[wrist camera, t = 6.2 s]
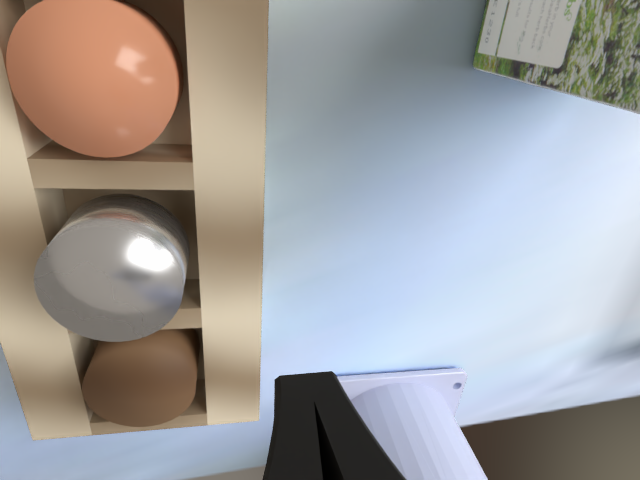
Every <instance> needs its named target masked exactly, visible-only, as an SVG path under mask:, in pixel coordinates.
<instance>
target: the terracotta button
mask: <svg viewBox="0 0 640 480" xmlns="http://www.w3.org/2000/svg"><path fill="white" fill-rule="evenodd" d="M6 68H7V74H8V79H9V82H10V85H11V89H12V91H13V93H14V96H15V98H16V100H17V102H18V103H19V105H20V107H21V108H22V110H23V111H24V113H25V114H26V115H27V117H28V118H29V119H30V120H31V121H32V122H33V124H34V125H35V126H36V127H37V128H38V129H39V130H41V131H42V132H43V133H44V134H45V135H46V136H48V137H49V138H51V139H52V140H54V141H55V142H57V143H58V144H60V145H62V146H64V147H66V148H68V149H70V150H73V151H75V152H78V153H81V154H84V155H89V156H94V157H104V158H109V157H120V156H126V155H129V154H133V153H135V152H137V151H140V150H142V149H144V148H145V147H147V146H148V145H150V144H151V143H152V142H153V141H155V140H156V139H157V138H158V137H159V135H160V134H161V133H162V132H163V130H164V129H165V127H166V126H167V124H168V122H169V120H170V119H171V117H172V115H173V113H174V112H175V110H176V108H177V106H178V104H179V102H180V99H181V96H182V92H183V85H184V73H183V66H182V62H181V58H180V55H179V52H178V50H177V48H176V46H175V44H174V42H173V40H172V38H171V37H170V35H169V34H168V32H167V31H166V30H165V29H164V28H163V26H162V25H161V24H160V23H159V22H158V21H157V20H156V19H155V18H154V17H152V16H151V15H150V14H148V13H147V12H146V11H144V10H143V9H141V8H139V7H137V6H136V5H133V4H131V3H129V2H127V1H123V0H44V1H41V2H39V3H37V4H36V5H34V6H33V7H31V8H30V9H29V10H27V11H26V12H25V13H24V14H23V15H22V16H21V18H20V19H19V20H18V22H17V23H16V25H15V26H14V28H13V30H12V33H11V35H10V38H9V41H8V45H7V53H6Z"/></svg>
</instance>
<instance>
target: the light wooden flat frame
mask: <svg viewBox="0 0 640 480" xmlns="http://www.w3.org/2000/svg"><path fill="white" fill-rule="evenodd" d="M41 1H44V0H0V343H1V346H2V349H3V352H4V355H5V358H6V361H7V364H8V367H9V370H10V373H11V376H12V379H13V382H14V385H15V388H16V391H17V394H18V397H19V400H20V403H21V406H22V409H23V412H24V415H25V418H26V421H27V424H28V427H29V430H30V433H31V436H32V439H33V440H43V439H55V438H66V437H78V436H89V435H101V434H112V433H123V432H135V431H146V430H158V429H169V428H181V427H192V426H204V425H215V424H226V423H238V422H249V421H259V401H260V357H261V314H262V270H263V226H264V183H265V139H266V95H267V52H268V8H269V0H123V1H127V2H129V3H131V4H133V5H136V6H137V7H139V8H141V9H143V10H144V11H146V12H147V13H148V14H150V15H151V16H152V17H154V18H155V19H156V20H157V21H158V22H159V23H160V24H161V25H162V26H163V28H164V29H165V30H166V31H167V32H168V34H169V35H170V37H171V38H172V40H173V42H174V44H175V46H176V48H177V50H178V52H179V55H180V58H181V62H182V66H183V73H184V85H183V92H182V96H181V99H180V102H179V104H178V106H177V108H176V110H175V112H174V113H173V115H172V117H171V119H170V120H169V122H168V124H167V126H166V127H165V129H164V130H163V132H162V133H161V134H160V135H159V137H158V138H157V139H156V140H155V141H153V142H152V143H151V144H150V145H148V146H147V147H145V148H144V149H142V150H140V151H137V152H135V153H133V154H129V155H126V156H120V157H109V158H104V157H94V156H89V155H84V154H81V153H78V152H75V151H73V150H70V149H68V148H66V147H64V146H62V145H60V144H58V143H57V142H55V141H54V140H52V139H51V138H49V137H48V136H46V135H45V134H44V133H43V132H42V131H41V130H39V129H38V128H37V127H36V126H35V125H34V124H33V122H32V121H31V120H30V119H29V118H28V117H27V115H26V114H25V113H24V111H23V110H22V108H21V107H20V105H19V103H18V102H17V100H16V98H15V96H14V93H13V91H12V89H11V85H10V82H9V79H8V74H7V68H6V53H7V45H8V41H9V38H10V35H11V33H12V30H13V28H14V26H15V25H16V23H17V22H18V20H19V19H20V18H21V16H22V15H23V14H24V13H25V12H26V11H27V10H29V9H30V8H31V7H33V6H34V5H36V4H37V3H39V2H41ZM109 194H132V195H138V196H141V197H145V198H148V199H150V200H152V201H155V202H157V203H158V204H160V205H162V206H163V207H165V208H166V209H168V210H169V211H170V212H171V213H172V214H173V215H174V216H175V217H176V218H177V219H178V220H179V221H180V223H181V224H182V226H183V227H184V229H185V231H186V234H187V236H188V240H189V245H190V256H189V262H188V268H187V273H186V279H185V284H184V290H183V295H182V301H181V304H180V307H179V309H178V311H177V312H176V314H175V315H174V317H173V318H172V319H171V320H170V321H169V322H168V323H167V324H166V325H165V326H164V327H163V328H161V329H160V330H163V329H185V328H194V329H195V331H196V333H197V335H198V337H199V341H200V352H199V362H198V372H197V382H196V391H195V396H194V399H193V401H192V403H191V404H190V406H189V407H188V408H187V409H186V410H185V411H184V412H183V413H182V414H181V415H179V416H178V417H176V418H174V419H173V420H170V421H168V422H166V423H162V424H159V425H155V426H148V427H130V426H123V425H119V424H116V423H112V422H110V421H108V420H105V419H104V418H102V417H100V416H99V415H97V414H96V413H95V412H94V411H93V410H92V409H91V408H90V407H89V406H88V405H87V403H86V401H85V399H84V396H83V392H82V384H83V380H84V377H85V374H86V372H87V370H88V367H89V365H90V362H91V360H92V357H93V355H94V352H95V350H96V347H97V345H98V342H99V340H94V339H90V338H87V337H84V336H81V335H78V334H76V333H74V332H72V331H70V330H68V329H66V328H65V327H63V326H62V325H60V324H59V323H58V322H56V321H55V320H54V319H53V318H52V317H51V316H50V315H49V314H48V313H47V312H46V310H45V309H44V308H43V306H42V305H41V303H40V301H39V299H38V297H37V294H36V291H35V286H34V271H35V266H36V264H37V261H38V259H39V257H40V256H41V254H42V252H43V251H44V250H45V248H46V247H47V246H48V245H49V243H50V242H51V241H52V240H53V238H54V237H55V236H56V234H57V233H58V232H59V231H60V229H61V228H62V227H63V226H64V224H65V223H66V222H67V220H68V219H69V218H70V217H71V215H72V214H73V213H74V212H75V211H76V210H77V209H78V208H79V207H80V206H81V205H83V204H84V203H86V202H88V201H90V200H92V199H94V198H97V197H100V196H103V195H109Z"/></svg>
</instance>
